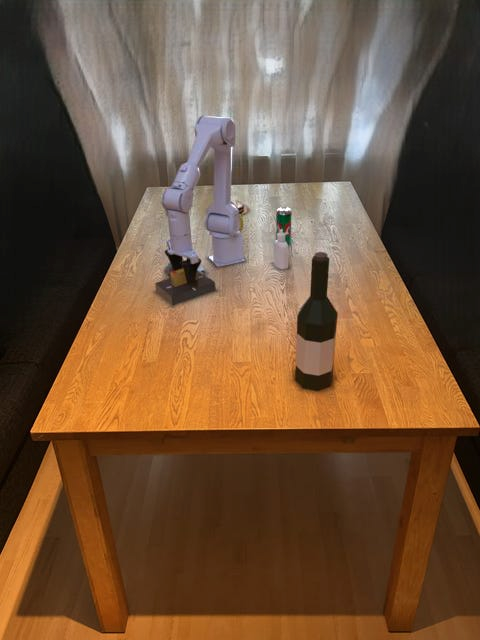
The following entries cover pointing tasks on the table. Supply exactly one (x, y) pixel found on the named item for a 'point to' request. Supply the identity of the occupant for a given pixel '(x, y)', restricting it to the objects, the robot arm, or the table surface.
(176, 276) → the gold rectangular bar
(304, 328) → the wine bottle
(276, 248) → the eye dropper bottle
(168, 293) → the block
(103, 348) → the table surface
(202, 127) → the robot arm
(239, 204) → the sushi roll
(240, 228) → the lemon
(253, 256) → the table surface
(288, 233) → the soda can
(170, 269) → the button box
